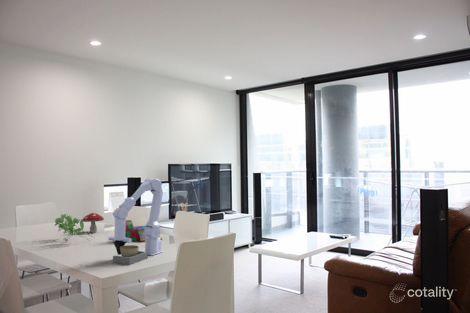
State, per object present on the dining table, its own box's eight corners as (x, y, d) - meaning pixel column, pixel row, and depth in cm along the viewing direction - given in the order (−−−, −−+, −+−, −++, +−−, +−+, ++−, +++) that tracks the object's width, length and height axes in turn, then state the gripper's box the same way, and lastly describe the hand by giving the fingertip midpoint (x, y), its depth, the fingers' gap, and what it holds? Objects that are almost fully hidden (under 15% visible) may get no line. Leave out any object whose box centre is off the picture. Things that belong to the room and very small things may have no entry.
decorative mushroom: (77, 233, 281) (77, 213, 281) (91, 230, 296) (91, 211, 296) (94, 234, 276) (95, 214, 276) (108, 231, 291) (108, 212, 292)
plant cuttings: (70, 246, 268) (43, 230, 256) (84, 225, 275) (60, 209, 264) (88, 255, 242) (59, 237, 230) (104, 232, 249) (77, 214, 237)
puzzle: (126, 244, 244) (127, 222, 244) (118, 240, 257) (118, 219, 258) (162, 240, 258) (162, 219, 259) (152, 236, 272) (152, 217, 272)
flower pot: (131, 263, 195) (131, 249, 195) (115, 261, 199) (115, 247, 199) (142, 259, 205) (142, 246, 205) (127, 257, 208) (127, 244, 208)
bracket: (131, 256, 211) (131, 250, 211) (147, 258, 206) (147, 252, 206) (112, 262, 197) (113, 255, 197) (129, 264, 192) (129, 258, 193)
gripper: (104, 229, 204) (104, 254, 204) (125, 231, 198) (125, 257, 198) (113, 227, 211) (113, 251, 210) (134, 229, 205) (133, 254, 204)
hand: (119, 254), depth 205 cm, fingers closed
